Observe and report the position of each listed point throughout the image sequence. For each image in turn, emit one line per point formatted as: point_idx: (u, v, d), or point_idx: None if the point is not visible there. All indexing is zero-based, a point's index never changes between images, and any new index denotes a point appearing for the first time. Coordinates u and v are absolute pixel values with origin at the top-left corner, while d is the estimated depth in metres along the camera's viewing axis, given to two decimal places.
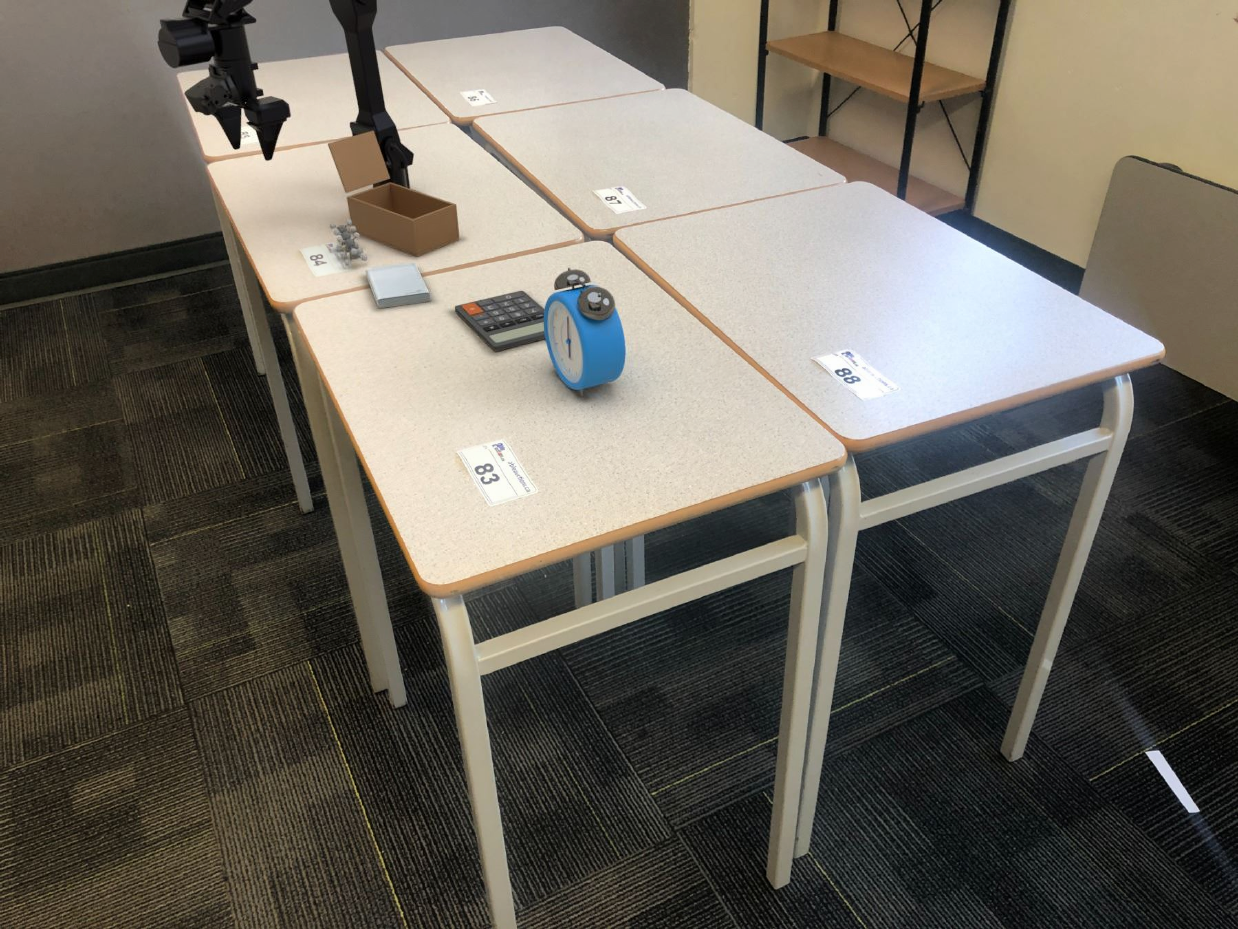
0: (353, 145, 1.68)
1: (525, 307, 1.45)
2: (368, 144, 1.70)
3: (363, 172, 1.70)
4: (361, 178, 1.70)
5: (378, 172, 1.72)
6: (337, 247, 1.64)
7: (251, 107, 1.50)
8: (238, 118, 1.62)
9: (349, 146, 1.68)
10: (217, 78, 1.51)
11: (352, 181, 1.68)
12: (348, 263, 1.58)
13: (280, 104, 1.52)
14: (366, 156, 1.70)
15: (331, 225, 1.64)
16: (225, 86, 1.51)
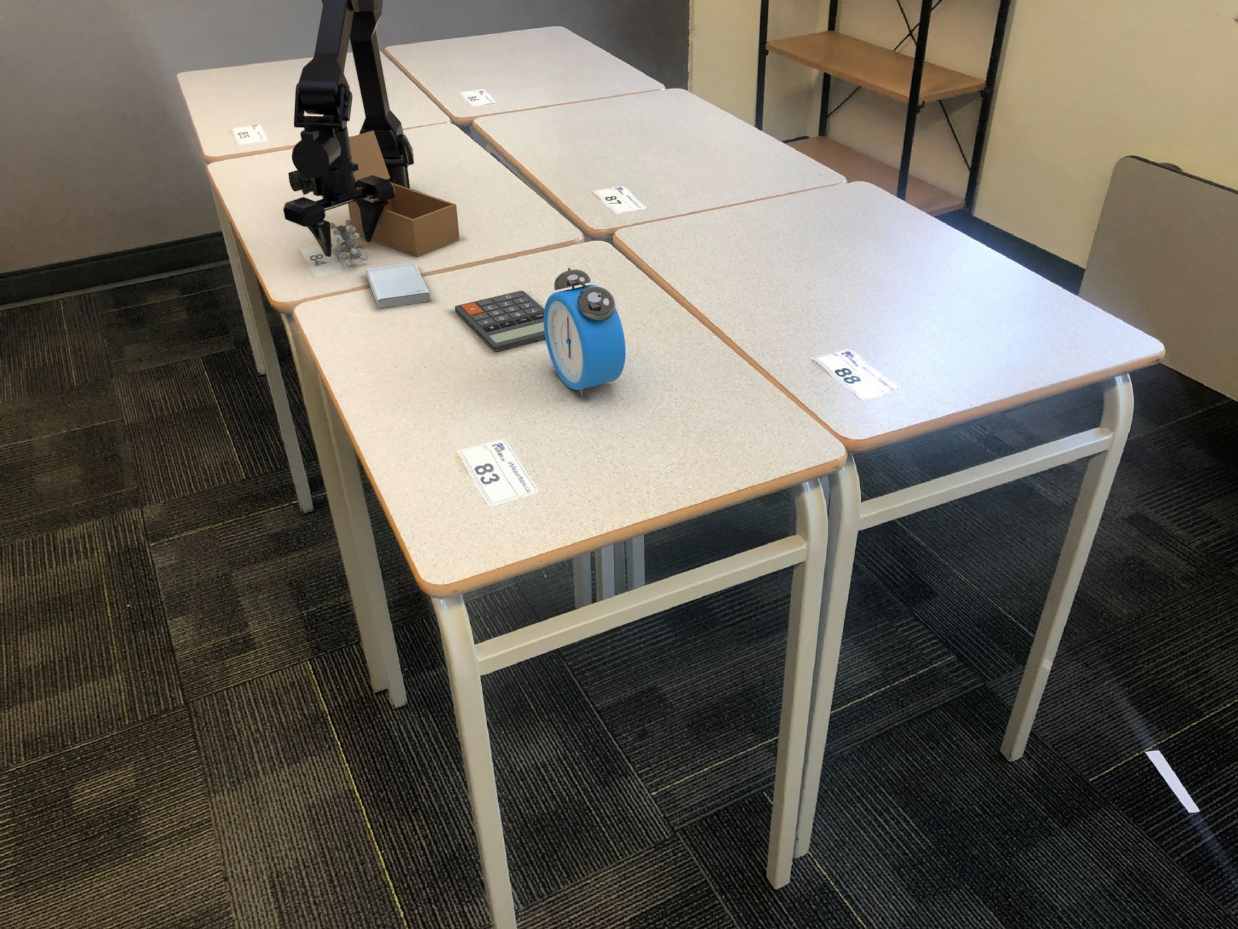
0: (353, 145, 1.68)
1: (525, 307, 1.45)
2: (368, 144, 1.70)
3: (363, 172, 1.70)
4: (361, 178, 1.70)
5: (378, 172, 1.72)
6: (337, 247, 1.64)
7: None
8: (372, 217, 1.62)
9: None
10: None
11: None
12: (348, 263, 1.58)
13: (297, 211, 1.50)
14: (366, 156, 1.70)
15: (331, 225, 1.64)
16: (311, 177, 1.56)
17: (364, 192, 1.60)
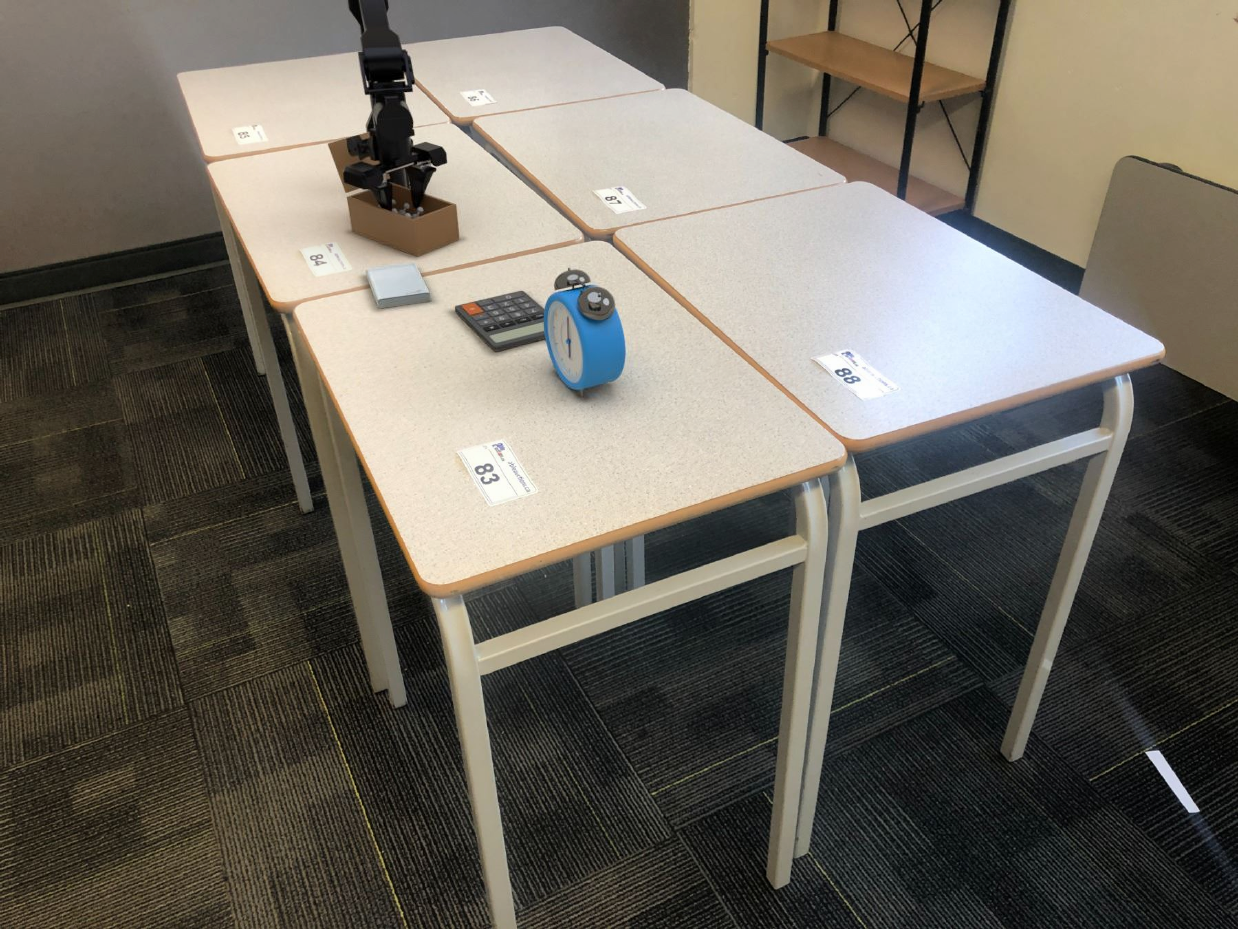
0: None
1: (525, 307, 1.45)
2: None
3: None
4: None
5: None
6: None
7: None
8: (421, 184, 1.67)
9: None
10: None
11: None
12: None
13: (357, 174, 1.56)
14: None
15: (380, 207, 1.70)
16: (369, 143, 1.62)
17: (418, 158, 1.66)
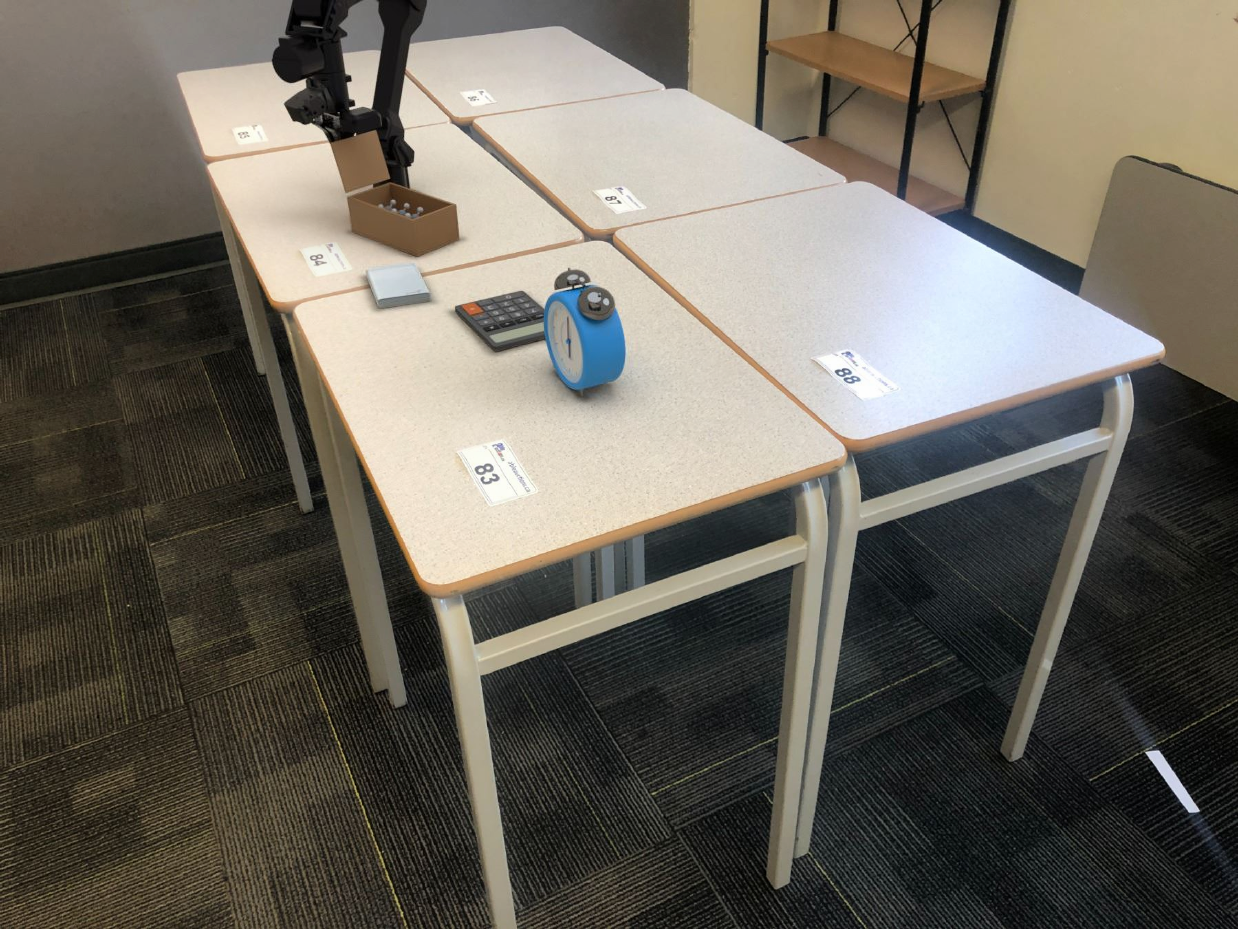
0: (355, 145, 1.68)
1: (525, 307, 1.45)
2: (370, 144, 1.70)
3: (363, 172, 1.70)
4: (361, 178, 1.70)
5: (378, 172, 1.72)
6: None
7: (346, 117, 1.60)
8: None
9: (351, 146, 1.67)
10: (314, 90, 1.61)
11: (352, 181, 1.68)
12: None
13: (373, 114, 1.61)
14: (367, 156, 1.70)
15: (380, 207, 1.70)
16: (322, 97, 1.60)
17: None
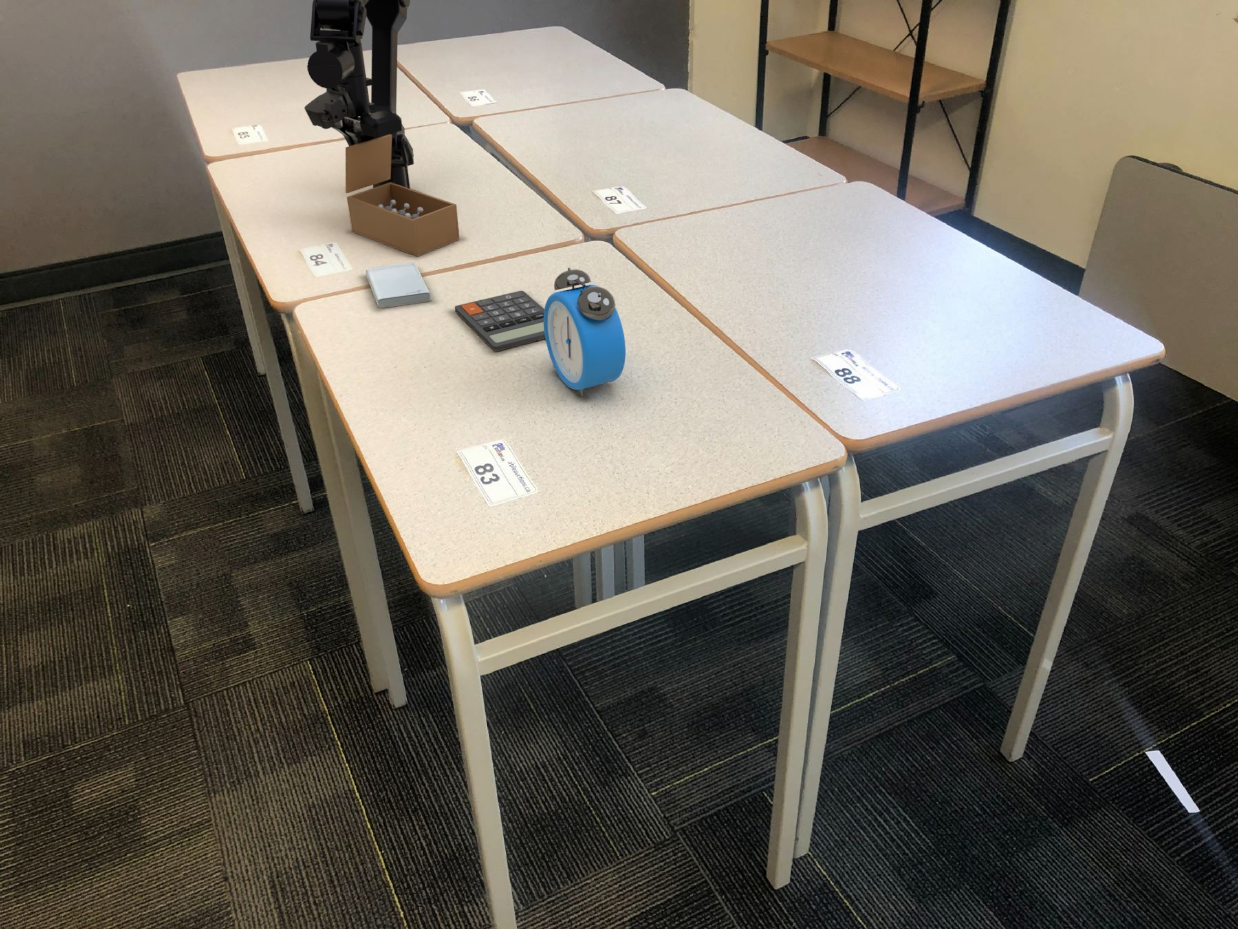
0: (368, 149, 1.66)
1: (525, 307, 1.45)
2: (382, 148, 1.68)
3: (368, 174, 1.69)
4: (364, 180, 1.69)
5: (382, 174, 1.72)
6: None
7: (367, 121, 1.59)
8: None
9: (364, 150, 1.65)
10: (335, 93, 1.59)
11: (355, 183, 1.68)
12: None
13: (394, 118, 1.60)
14: (376, 159, 1.69)
15: (380, 207, 1.70)
16: (343, 101, 1.59)
17: None
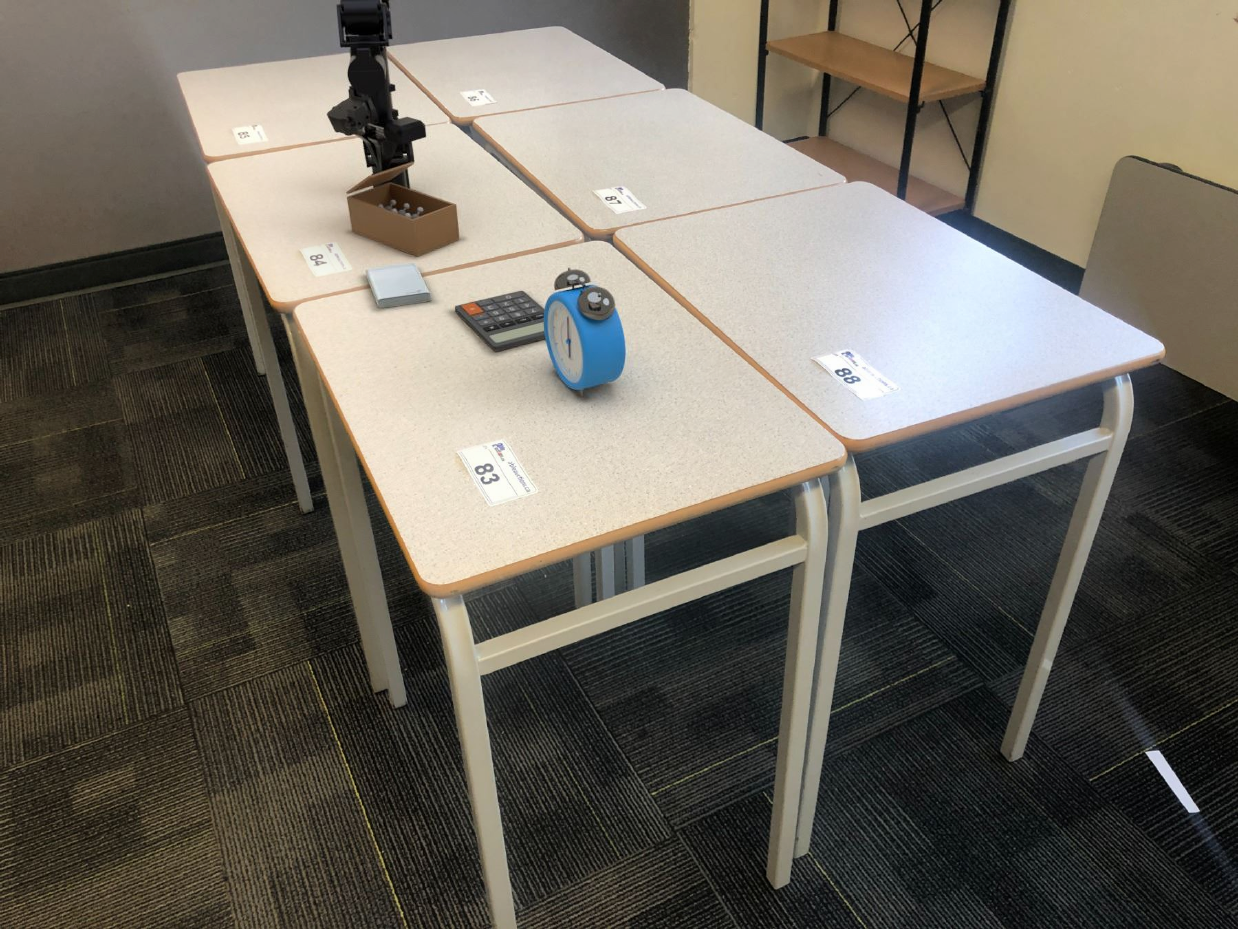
0: (387, 173, 1.66)
1: (525, 307, 1.45)
2: (399, 170, 1.68)
3: (374, 182, 1.69)
4: (368, 185, 1.69)
5: (385, 179, 1.72)
6: None
7: (391, 128, 1.55)
8: None
9: (383, 175, 1.65)
10: (358, 100, 1.56)
11: (359, 188, 1.68)
12: None
13: (418, 125, 1.57)
14: (388, 175, 1.69)
15: (380, 207, 1.70)
16: (366, 107, 1.56)
17: None
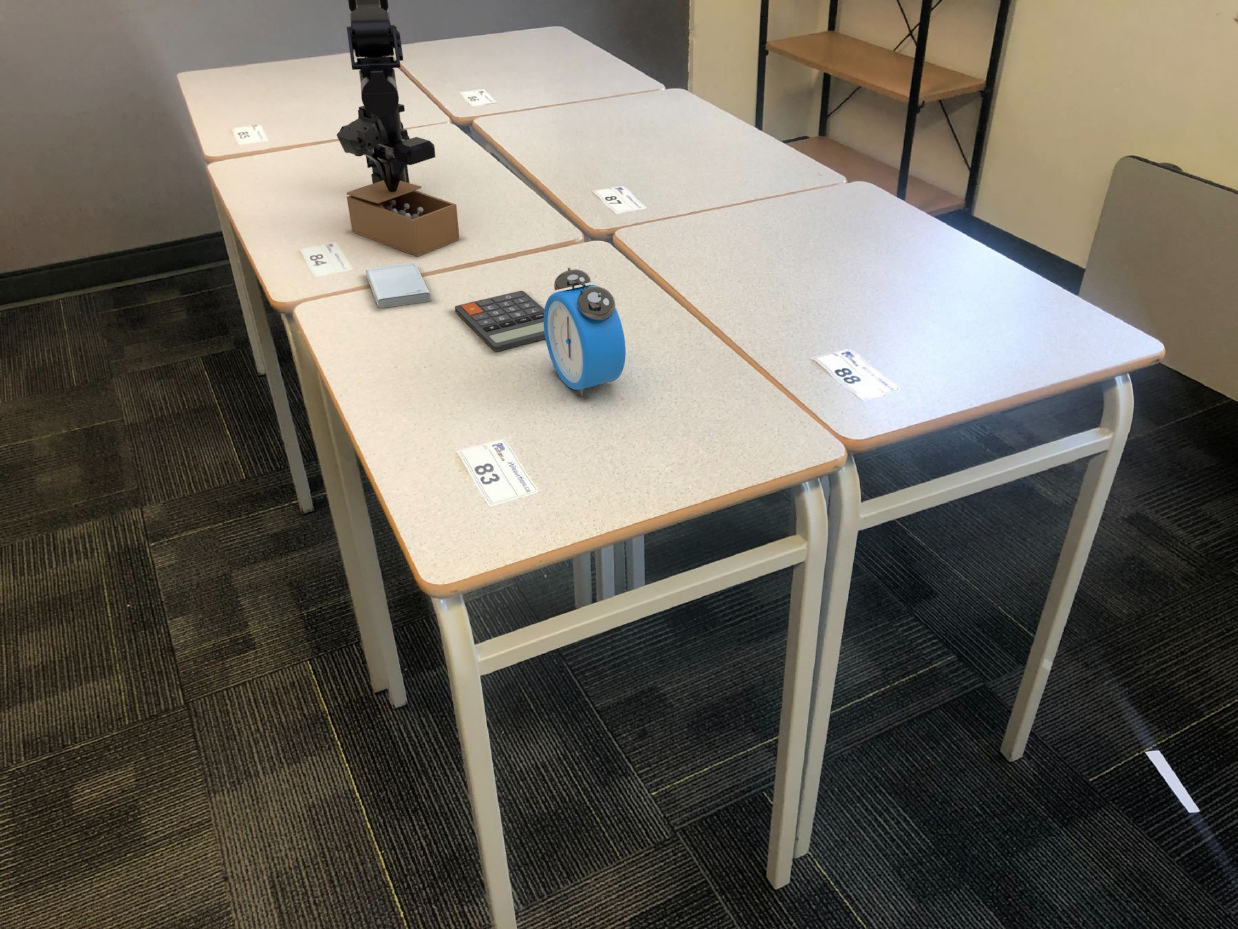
0: None
1: (525, 307, 1.45)
2: None
3: None
4: None
5: None
6: None
7: (401, 148, 1.56)
8: None
9: None
10: (367, 120, 1.57)
11: None
12: None
13: (427, 145, 1.58)
14: None
15: (380, 207, 1.70)
16: (375, 128, 1.57)
17: None
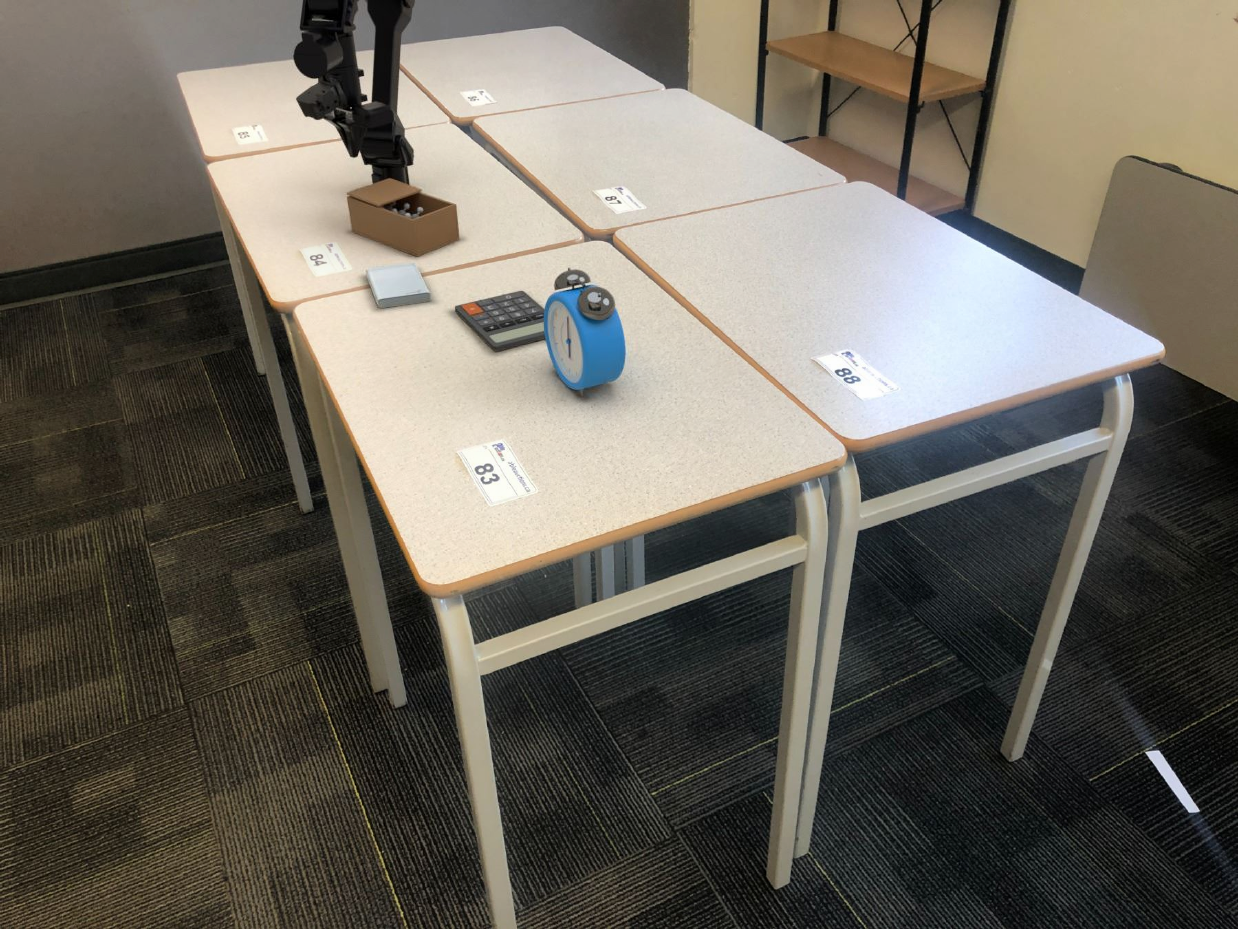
0: None
1: (525, 307, 1.45)
2: None
3: None
4: None
5: None
6: None
7: (359, 112, 1.58)
8: None
9: None
10: (327, 84, 1.59)
11: None
12: None
13: (386, 109, 1.60)
14: None
15: (380, 207, 1.70)
16: (334, 92, 1.59)
17: None
